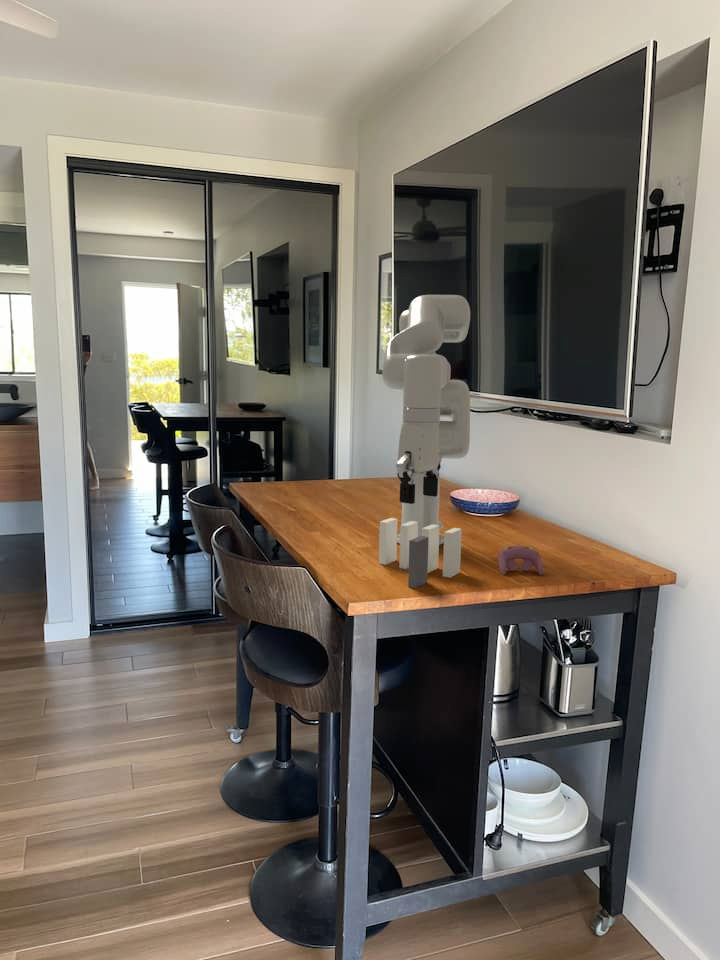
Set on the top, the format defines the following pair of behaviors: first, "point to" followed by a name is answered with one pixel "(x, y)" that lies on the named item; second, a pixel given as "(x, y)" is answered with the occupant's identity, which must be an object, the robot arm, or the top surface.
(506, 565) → the video game controller
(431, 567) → the domino
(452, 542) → the domino
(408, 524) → the domino
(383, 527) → the domino
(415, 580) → the domino
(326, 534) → the top surface
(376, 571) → the top surface
